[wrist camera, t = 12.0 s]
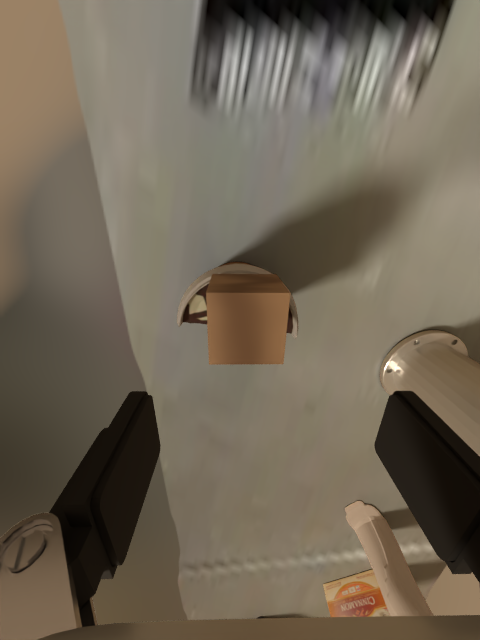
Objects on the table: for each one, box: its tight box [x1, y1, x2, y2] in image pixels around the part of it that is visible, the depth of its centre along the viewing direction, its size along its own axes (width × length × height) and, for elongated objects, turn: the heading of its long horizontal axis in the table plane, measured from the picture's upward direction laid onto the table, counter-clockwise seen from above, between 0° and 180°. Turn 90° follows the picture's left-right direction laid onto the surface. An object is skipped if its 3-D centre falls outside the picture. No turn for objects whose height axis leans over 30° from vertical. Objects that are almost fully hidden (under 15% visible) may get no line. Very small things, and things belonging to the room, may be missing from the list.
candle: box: [345, 501, 434, 616], centre depth 44 cm, size 7×14×20 cm, turn 36°
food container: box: [177, 262, 298, 339], centre depth 26 cm, size 12×6×10 cm, turn 82°
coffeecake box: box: [323, 569, 390, 617], centre depth 56 cm, size 15×7×20 cm, turn 120°
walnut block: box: [206, 274, 290, 364], centre depth 19 cm, size 6×6×6 cm
